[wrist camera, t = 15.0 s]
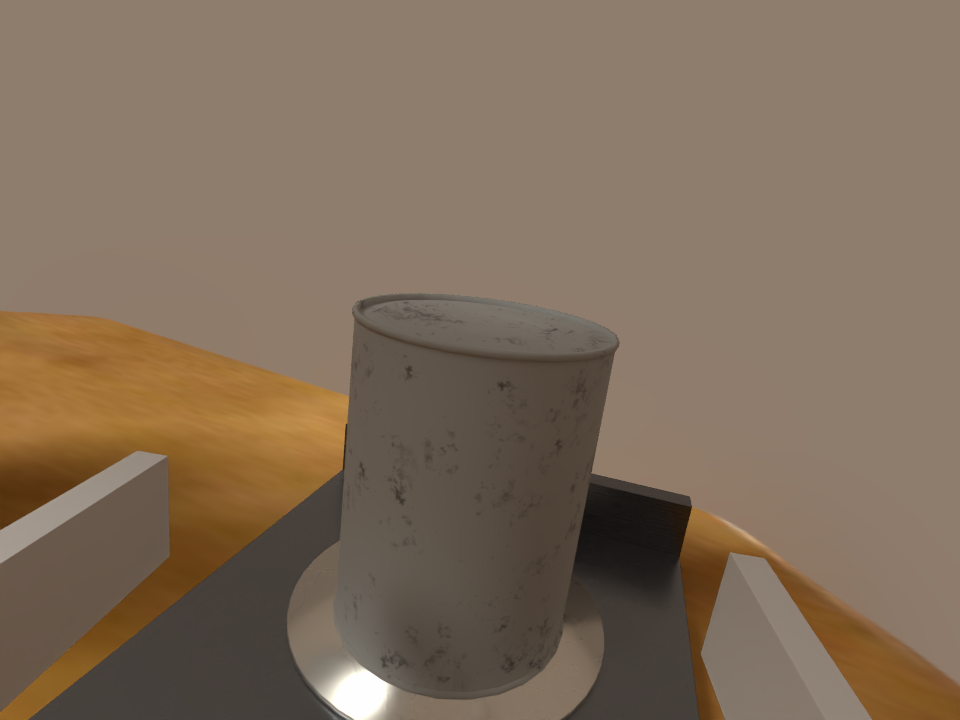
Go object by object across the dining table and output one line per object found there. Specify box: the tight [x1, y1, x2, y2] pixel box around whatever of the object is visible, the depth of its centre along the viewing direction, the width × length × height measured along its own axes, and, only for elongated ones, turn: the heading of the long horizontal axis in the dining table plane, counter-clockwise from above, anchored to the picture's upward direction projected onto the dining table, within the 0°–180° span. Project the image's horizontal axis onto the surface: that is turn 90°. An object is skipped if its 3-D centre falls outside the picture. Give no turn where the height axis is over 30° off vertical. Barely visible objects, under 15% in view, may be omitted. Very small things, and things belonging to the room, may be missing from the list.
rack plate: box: [29, 423, 699, 720], centre depth 23 cm, size 20×20×4 cm
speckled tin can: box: [333, 293, 619, 700], centre depth 22 cm, size 10×10×12 cm
